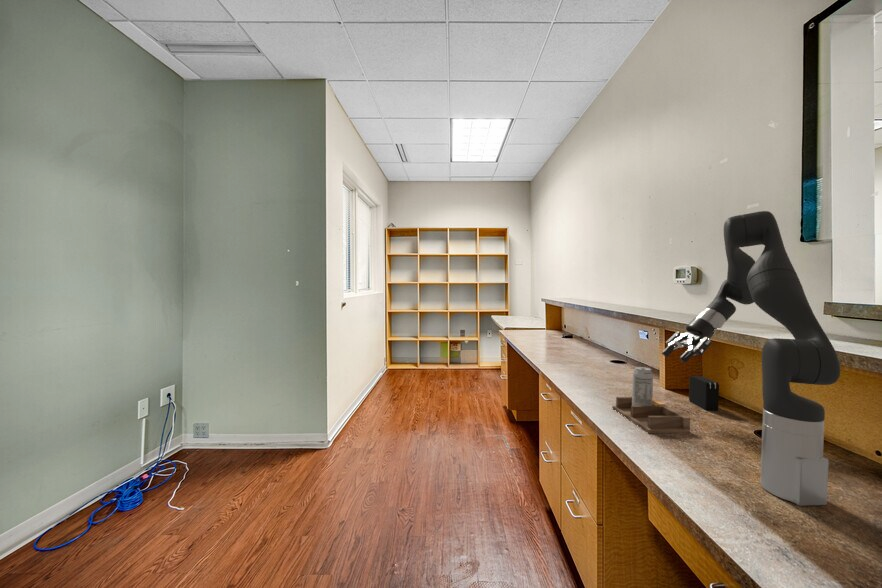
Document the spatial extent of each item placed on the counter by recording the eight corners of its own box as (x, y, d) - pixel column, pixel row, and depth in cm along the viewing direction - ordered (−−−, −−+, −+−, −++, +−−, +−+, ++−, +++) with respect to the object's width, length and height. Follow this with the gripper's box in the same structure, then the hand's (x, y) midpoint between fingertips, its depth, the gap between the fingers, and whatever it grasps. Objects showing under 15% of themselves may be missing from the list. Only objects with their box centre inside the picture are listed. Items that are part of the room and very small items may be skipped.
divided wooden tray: (689, 432, 105) (690, 416, 105) (648, 433, 104) (648, 417, 104) (647, 408, 125) (647, 395, 125) (612, 408, 124) (612, 395, 124)
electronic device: (700, 401, 132) (701, 375, 132) (718, 411, 123) (719, 383, 122) (688, 401, 133) (689, 375, 133) (705, 410, 123) (706, 382, 123)
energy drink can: (652, 410, 120) (653, 367, 119) (651, 416, 115) (652, 371, 114) (632, 407, 123) (633, 365, 122) (631, 412, 118) (632, 369, 117)
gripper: (683, 314, 126) (651, 346, 126) (716, 319, 112) (680, 354, 111) (696, 329, 126) (665, 360, 126) (731, 335, 112) (696, 370, 112)
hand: (672, 357), depth 119 cm, fingers open, 8 cm apart
